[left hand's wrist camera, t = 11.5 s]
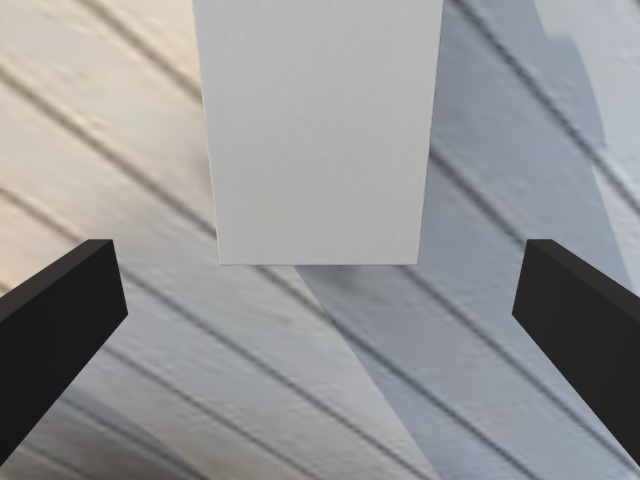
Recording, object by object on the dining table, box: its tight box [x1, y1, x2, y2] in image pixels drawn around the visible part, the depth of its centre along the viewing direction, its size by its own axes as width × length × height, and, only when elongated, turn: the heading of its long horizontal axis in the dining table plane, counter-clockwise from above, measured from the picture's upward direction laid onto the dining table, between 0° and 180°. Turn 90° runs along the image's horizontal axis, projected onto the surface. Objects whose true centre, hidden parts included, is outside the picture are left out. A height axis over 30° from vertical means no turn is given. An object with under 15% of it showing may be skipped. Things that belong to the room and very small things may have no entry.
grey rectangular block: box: [192, 0, 444, 265], centre depth 22 cm, size 20×10×11 cm, turn 0°
